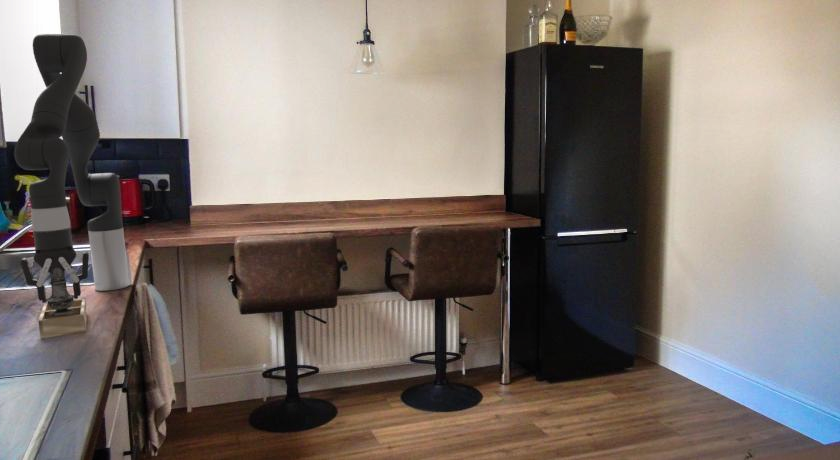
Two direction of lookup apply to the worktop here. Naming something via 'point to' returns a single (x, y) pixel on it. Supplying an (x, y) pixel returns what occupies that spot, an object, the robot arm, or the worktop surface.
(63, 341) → the worktop surface
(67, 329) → the caddy
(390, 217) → the worktop surface
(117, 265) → the robot arm
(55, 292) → the grey stone statue
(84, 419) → the worktop surface
